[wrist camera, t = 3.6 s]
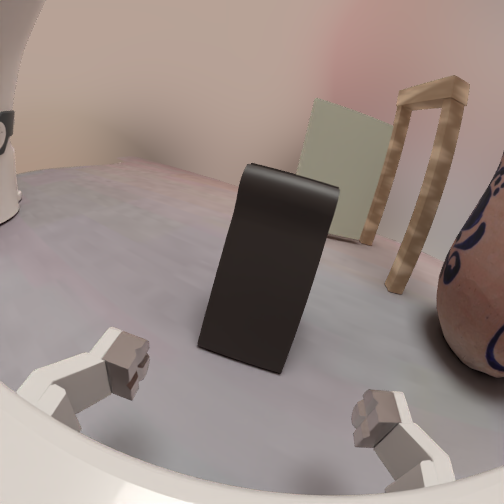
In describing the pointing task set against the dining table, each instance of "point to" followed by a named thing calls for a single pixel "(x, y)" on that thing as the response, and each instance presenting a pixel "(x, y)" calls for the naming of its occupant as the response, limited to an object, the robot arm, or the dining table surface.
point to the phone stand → (267, 265)
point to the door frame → (452, 103)
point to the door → (345, 160)
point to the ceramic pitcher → (477, 285)
